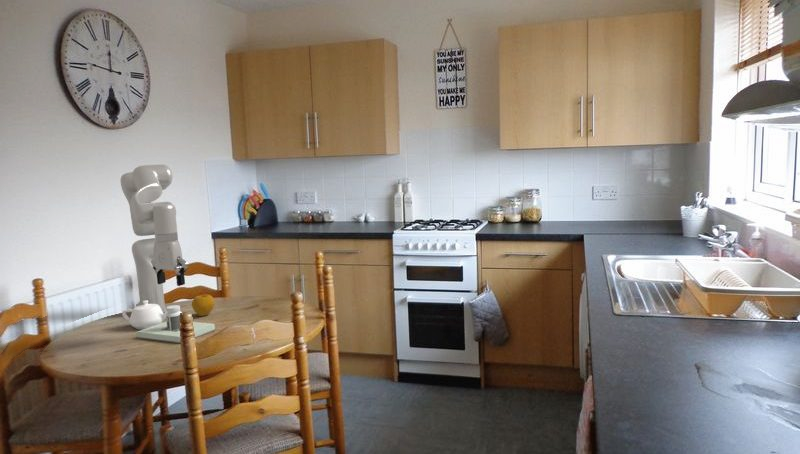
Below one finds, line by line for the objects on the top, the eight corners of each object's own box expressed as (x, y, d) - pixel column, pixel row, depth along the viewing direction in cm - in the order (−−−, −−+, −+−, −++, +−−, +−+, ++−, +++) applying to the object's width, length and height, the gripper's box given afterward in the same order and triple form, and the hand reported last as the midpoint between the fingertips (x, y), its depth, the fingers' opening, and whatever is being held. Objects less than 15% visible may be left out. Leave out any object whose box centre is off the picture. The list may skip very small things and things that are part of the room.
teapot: (180, 320, 231) (178, 295, 229) (167, 329, 218) (164, 303, 217) (132, 322, 231) (129, 298, 230) (116, 332, 219) (113, 306, 218)
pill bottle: (187, 330, 214) (184, 304, 213) (179, 335, 209) (177, 308, 207) (172, 330, 215) (169, 304, 214) (164, 335, 209) (162, 309, 208)
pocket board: (137, 338, 209) (136, 331, 209) (172, 325, 224) (171, 319, 223) (181, 343, 200) (181, 337, 199) (215, 330, 214) (214, 323, 214)
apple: (206, 319, 230) (204, 297, 229) (188, 318, 233) (185, 296, 232) (220, 312, 239) (218, 291, 238) (202, 312, 242) (200, 291, 241)
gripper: (141, 239, 208) (146, 285, 210) (176, 240, 200) (180, 288, 203) (157, 235, 214) (162, 280, 217) (192, 237, 207) (196, 283, 209)
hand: (171, 284), depth 210 cm, fingers open, 9 cm apart
